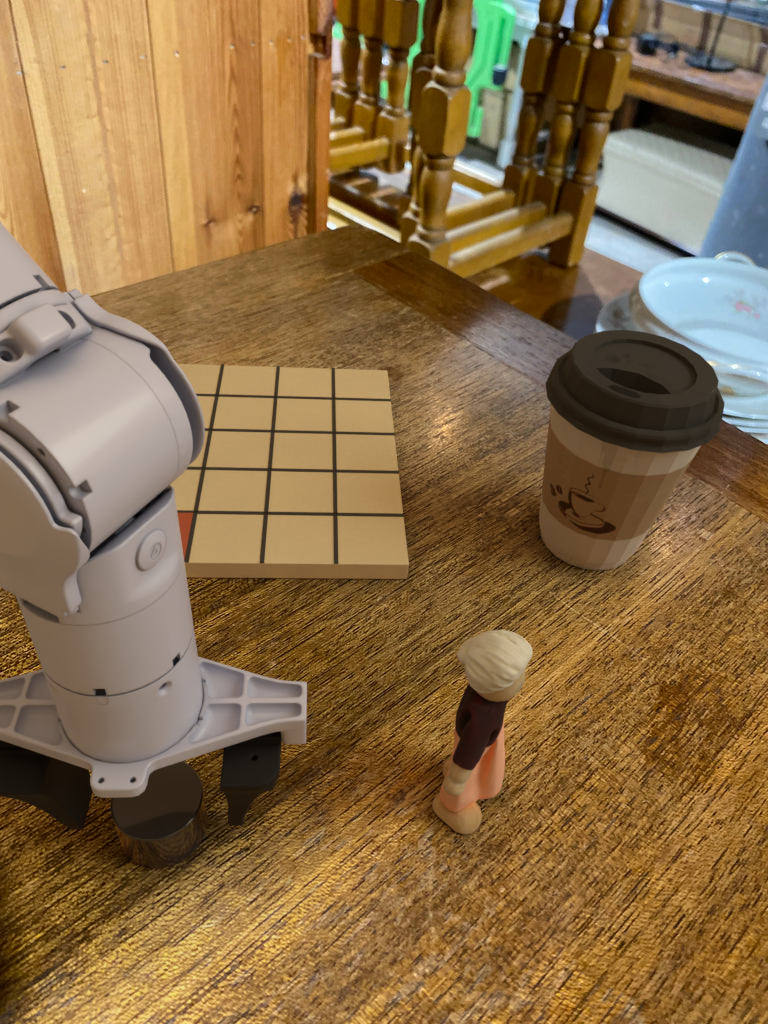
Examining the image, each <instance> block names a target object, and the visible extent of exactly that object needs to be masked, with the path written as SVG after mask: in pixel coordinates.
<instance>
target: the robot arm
mask: <svg viewBox="0 0 768 1024" xmlns="http://www.w3.org/2000/svg"><path fill="white" fill-rule="evenodd" d="M178 364H179V363H178V362H176V360H175V358H173V356H172V354H171V352H170V350H169V349H168V347H167V345H166V344H165V343H163V342H162V340H160V339H159V338H158V337H157V336H156V335H154V334H153V333H151V332H150V330H147V329H146V328H144V327H143V326H141V325H139V324H138V323H136V322H134V321H133V320H130V319H128V318H125V317H123V316H120V315H117V314H114V313H112V312H109V311H107V310H105V308H103V307H101V305H99V304H98V303H97V302H96V301H95V300H94V299H93V298H92V297H91V295H90V294H89V293H87V292H86V293H84V294H83V293H82V292H81V291H80V290H79V289H78V288H73V289H70V290H68V291H63V292H62V291H61V290H60V288H59V287H58V286H57V284H55V282H54V281H53V280H52V279H51V278H50V277H49V275H48V274H47V273H46V272H45V271H44V269H42V267H40V265H39V264H38V263H37V262H36V261H35V259H34V258H32V256H31V255H30V254H29V252H28V251H27V250H26V249H25V248H24V247H23V246H22V245H21V243H20V242H19V241H18V240H17V239H16V237H15V236H14V235H13V234H12V233H11V232H10V231H9V230H8V228H7V227H6V226H5V224H3V222H1V221H0V588H1V589H3V590H4V591H6V592H8V593H10V594H11V595H14V596H15V598H16V601H17V603H18V606H19V609H20V612H21V614H22V618H23V620H24V622H25V625H26V629H27V631H28V634H29V636H30V639H31V642H32V643H33V644H32V645H33V647H34V650H35V652H36V656H37V658H38V661H39V664H40V667H41V669H38V670H37V669H36V670H33V671H30V672H27V673H23V674H19V675H15V676H11V677H6V678H2V679H0V797H1V798H8V799H12V800H17V801H20V802H24V803H26V804H28V805H31V806H33V807H35V808H37V809H39V810H41V811H43V813H46V814H47V815H49V816H51V817H52V818H54V819H55V820H56V821H58V822H59V823H60V824H61V825H63V826H64V827H66V828H67V829H69V830H84V829H85V827H86V821H87V817H88V813H89V810H90V809H89V808H90V804H91V800H92V796H93V794H94V795H95V796H96V797H98V798H103V799H112V798H122V797H135V796H139V795H140V794H141V793H143V792H144V791H145V789H146V786H147V783H148V778H149V775H150V774H151V773H152V772H153V771H154V770H157V769H160V768H163V767H166V766H169V765H172V764H175V763H178V762H181V761H183V762H185V761H188V760H191V759H194V758H196V757H200V756H202V755H206V754H209V753H212V752H216V751H218V750H221V749H222V750H223V753H222V762H221V769H220V771H221V772H220V780H219V791H220V792H222V793H223V795H224V797H225V799H226V803H227V824H228V827H242V826H243V825H244V824H245V817H246V815H247V813H248V811H249V809H250V807H251V806H252V804H253V803H254V801H255V800H256V799H257V798H259V796H261V795H264V794H265V793H268V792H272V791H274V788H275V787H276V784H277V782H278V779H279V776H280V771H281V761H282V760H281V758H282V744H284V745H306V744H307V725H308V724H307V719H308V711H307V710H308V682H307V681H304V680H303V681H299V680H284V679H280V678H279V679H278V678H273V677H269V676H265V675H262V674H258V673H254V672H251V671H248V670H245V669H241V668H238V667H235V666H232V665H228V664H225V663H221V662H218V661H215V660H212V659H208V658H205V657H201V656H199V654H198V647H197V640H196V634H195V626H194V619H193V612H192V604H191V599H190V591H189V584H188V577H187V576H186V569H185V563H184V556H183V548H182V541H181V534H180V527H179V520H178V513H177V506H176V500H175V493H174V488H173V487H172V486H171V485H170V484H171V483H172V482H174V481H175V480H176V479H177V478H178V477H180V476H181V475H182V474H183V473H184V472H185V470H186V469H187V467H188V466H189V464H191V463H192V462H193V461H195V459H196V458H197V457H198V456H199V454H200V452H201V450H202V447H203V444H204V439H205V424H204V417H203V413H202V409H201V406H200V403H199V400H198V398H197V395H196V393H195V391H194V389H193V387H192V385H191V383H190V382H189V380H188V378H187V377H186V375H185V374H184V372H183V371H182V369H181V368H180V367H179V366H178ZM90 771H91V773H90Z"/></svg>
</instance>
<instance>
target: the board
mask: <svg viewBox="0 0 768 1024" xmlns="http://www.w3.org/2000/svg"><path fill="white" fill-rule="evenodd" d="M177 364H178V366H179V367H180V368H181V369H182V371H183V372H184V374H185V375H186V377H187V378H188V380H189V382H190V383H191V385H192V387H193V389H194V391H195V393H196V395H197V398H198V400H199V403H200V406H201V409H202V413H203V417H204V424H205V439H204V444H203V447H202V450H201V452H200V454H199V456H198V457H197V458H196V459H195V461H193V462H192V463H191V464H189V466H188V467H187V469H186V470H185V472H184V473H183V474H182V475H181V476H180V477H178V478H177V479H176V480H175V481H174V482H172V483H171V484H170V485H171V486H172V487H173V488H174V493H175V500H176V506H177V513H178V520H179V527H180V534H181V541H182V548H183V556H184V563H185V569H186V576H187V578H193V579H195V578H198V579H199V578H201V579H202V578H203V579H204V578H210V579H213V578H214V579H217V578H218V579H219V578H220V579H224V578H225V579H228V578H229V579H231V578H232V579H326V580H327V579H329V580H330V579H335V580H336V579H339V580H340V579H341V580H343V579H346V580H348V579H349V580H407V579H408V574H409V568H410V562H409V551H408V543H407V535H406V523H405V515H404V514H405V513H404V508H403V507H404V506H403V497H402V489H401V481H400V470H399V462H398V453H397V444H396V436H395V435H396V434H395V433H396V432H395V426H394V425H395V424H394V417H393V409H392V408H393V407H392V398H391V392H390V382H389V372H388V370H387V369H386V370H385V369H362V368H361V369H356V368H335V367H331V368H325V367H322V368H321V367H298V366H297V367H295V366H292V367H291V366H281V365H276V366H263V365H262V366H261V365H230V364H229V365H227V364H225V363H224V364H223V363H221V364H202V363H201V364H199V363H198V364H197V363H177Z"/></svg>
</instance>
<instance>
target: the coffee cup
mask: <svg viewBox="0 0 768 1024" xmlns="http://www.w3.org/2000/svg"><path fill="white" fill-rule="evenodd" d="M718 387H719V378H718V375H717V373H716V371H715V369H714V367H713V366H712V365H711V364H710V363H709V362H708V361H707V360H706V359H705V358H704V357H703V356H702V355H701V354H699V353H698V352H696V351H694V350H693V349H692V348H690V347H688V346H686V345H685V344H683V343H680V342H678V341H675V340H672V339H670V338H667V337H665V336H662V335H657V334H654V333H649V332H645V331H639V330H638V331H637V330H628V329H614V330H613V329H611V330H601V331H598V332H594V333H592V334H591V333H590V334H586V335H585V336H584V337H582V338H580V339H579V340H578V341H576V342H575V343H574V344H573V346H572V348H571V349H569V350H568V351H567V352H565V353H563V354H562V355H560V356H559V357H558V358H557V359H556V360H555V362H554V364H553V366H552V369H551V371H550V372H549V375H548V377H547V379H546V381H545V388H546V389H545V390H546V391H545V392H546V397H547V400H548V401H549V403H550V406H549V407H550V409H549V417H548V418H549V419H548V427H547V436H546V446H545V456H544V466H543V474H542V485H541V495H540V503H539V513H538V523H539V531H540V538H541V540H542V542H543V543H544V545H545V548H547V549H548V551H550V552H551V553H552V554H553V555H554V556H555V557H556V558H558V559H560V560H561V561H563V562H565V563H566V564H568V565H571V566H574V567H577V568H580V569H583V570H591V571H608V570H613V569H616V568H618V567H620V566H622V565H624V564H625V563H626V562H627V561H628V560H629V559H630V558H631V557H632V556H633V555H634V554H635V553H636V552H637V550H638V549H639V548H640V546H641V544H642V543H643V541H644V540H645V538H646V536H647V535H648V533H649V531H650V530H651V528H652V527H653V525H654V523H655V522H656V520H657V518H658V517H659V515H660V514H661V512H662V511H663V509H664V507H665V506H666V504H667V503H668V500H669V499H670V498H671V496H672V494H673V492H674V491H675V489H676V488H677V485H678V484H679V482H680V481H681V479H682V478H683V476H684V475H685V473H686V471H687V470H688V468H689V466H690V465H691V463H692V462H693V460H694V459H695V457H696V455H697V453H698V451H699V450H700V448H701V447H702V446H703V445H706V444H709V443H710V442H711V441H712V440H713V439H714V438H715V437H716V435H717V434H718V433H719V432H721V431H720V430H721V426H722V420H723V417H724V412H725V411H724V410H725V400H724V398H723V397H722V394H721V392H720V389H719V388H718Z"/></svg>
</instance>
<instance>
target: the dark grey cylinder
mask: <svg viewBox="0 0 768 1024" xmlns="http://www.w3.org/2000/svg"><path fill="white" fill-rule="evenodd" d="M205 797H206V796H205V791H204V786H203V782H202V779H201V776H200V775H199V774H198V772H197V770H196V769H195V768H194V767H192V766H191V765H190V764H189V763H187V762H185V761H181V762H178V763H175V764H172V765H169V766H166V767H163V768H160V769H157V770H154V771H153V772H152V773H151V774H150V775H149V778H148V783H147V786H146V789H145V791H144V792H143V793H141V794H140V795H139V796H135V797H122V798H110V799H111V800H110V814H111V815H110V816H111V819H112V821H113V825H114V827H115V830H116V833H117V836H118V840H119V843H120V845H121V848H122V850H123V852H124V853H125V855H126V856H127V858H129V859H130V860H131V861H133V862H134V863H135V864H137V865H140V866H142V867H145V868H149V869H164V868H169V867H172V866H175V865H178V864H179V863H181V862H182V861H184V860H186V859H187V858H189V857H190V856H191V855H193V853H194V852H195V851H196V850H197V849H198V847H200V845H201V843H202V842H203V839H204V838H205V835H206V832H207V830H208V823H209V822H208V821H209V818H208V810H207V804H206V798H205Z"/></svg>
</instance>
